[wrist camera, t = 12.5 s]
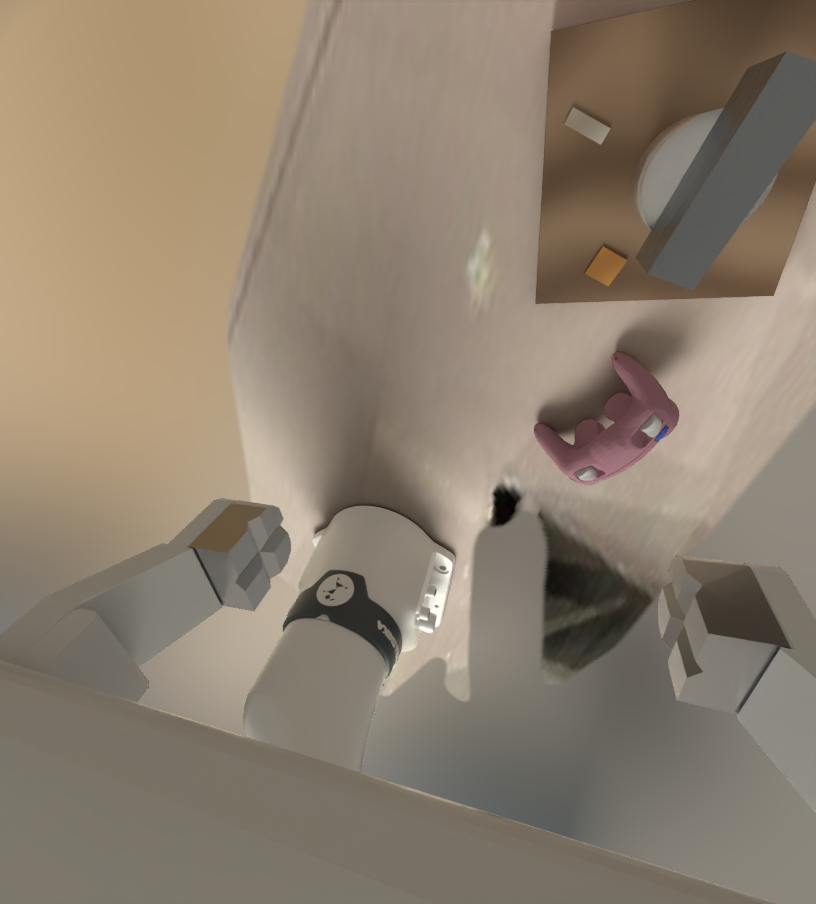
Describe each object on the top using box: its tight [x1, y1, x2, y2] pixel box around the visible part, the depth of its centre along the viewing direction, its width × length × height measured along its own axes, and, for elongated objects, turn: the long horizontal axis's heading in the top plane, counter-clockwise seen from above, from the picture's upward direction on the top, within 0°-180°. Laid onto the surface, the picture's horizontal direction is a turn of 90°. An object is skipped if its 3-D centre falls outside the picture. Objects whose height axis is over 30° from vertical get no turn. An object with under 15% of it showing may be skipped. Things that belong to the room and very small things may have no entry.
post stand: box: [536, 0, 816, 304], centre depth 23 cm, size 14×14×5 cm
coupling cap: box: [631, 51, 816, 291], centre depth 18 cm, size 7×5×7 cm
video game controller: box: [534, 353, 679, 485], centre depth 32 cm, size 10×5×7 cm, turn 149°
